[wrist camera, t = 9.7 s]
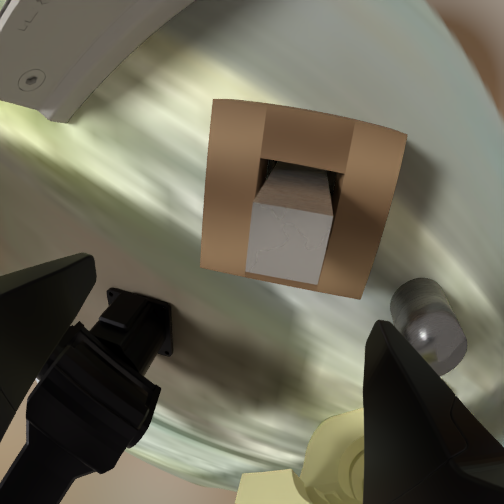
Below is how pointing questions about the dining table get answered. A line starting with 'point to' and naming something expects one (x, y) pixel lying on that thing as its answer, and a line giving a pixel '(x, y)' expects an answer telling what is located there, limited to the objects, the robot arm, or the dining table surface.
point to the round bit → (429, 323)
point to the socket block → (308, 154)
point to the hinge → (70, 47)
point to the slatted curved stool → (317, 469)
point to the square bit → (290, 224)
